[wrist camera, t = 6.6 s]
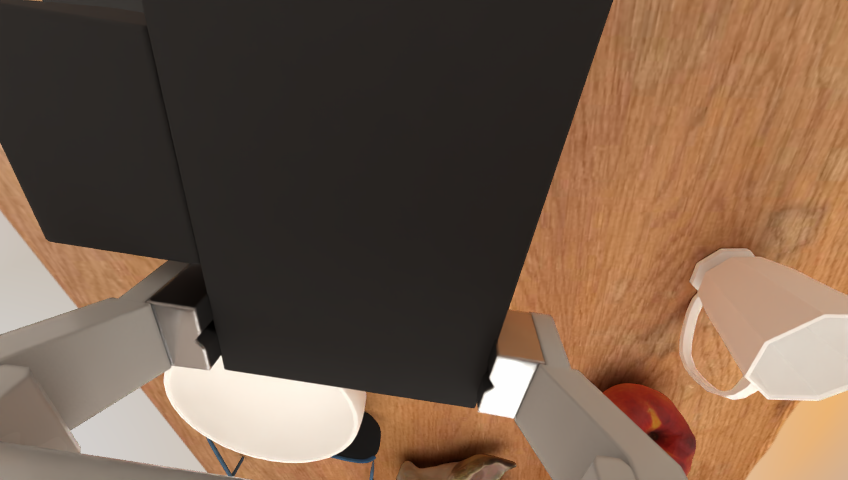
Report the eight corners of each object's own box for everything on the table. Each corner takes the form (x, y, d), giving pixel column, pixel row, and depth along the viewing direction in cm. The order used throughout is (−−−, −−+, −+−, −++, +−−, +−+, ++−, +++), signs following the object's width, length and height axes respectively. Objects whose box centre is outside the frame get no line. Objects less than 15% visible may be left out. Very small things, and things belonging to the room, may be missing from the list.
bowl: (209, 255, 28) (135, 322, 22) (386, 283, 28) (365, 359, 22) (234, 373, 36) (185, 449, 29) (375, 395, 36) (357, 476, 29)
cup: (805, 249, 24) (947, 337, 17) (700, 344, 29) (777, 442, 22) (717, 215, 23) (827, 293, 16) (625, 319, 28) (679, 412, 21)
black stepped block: (55, -207, 6) (-263, -403, 3) (591, -122, 6) (700, -249, 3) (182, 276, 11) (96, 351, 8) (470, 321, 11) (475, 409, 8)
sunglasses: (385, 411, 37) (376, 464, 33) (378, 463, 46) (369, 510, 42) (224, 384, 37) (194, 434, 33) (248, 442, 46) (227, 486, 42)
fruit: (687, 384, 32) (751, 482, 25) (622, 428, 35) (662, 524, 29) (616, 352, 30) (663, 446, 23) (557, 402, 34) (583, 495, 27)
